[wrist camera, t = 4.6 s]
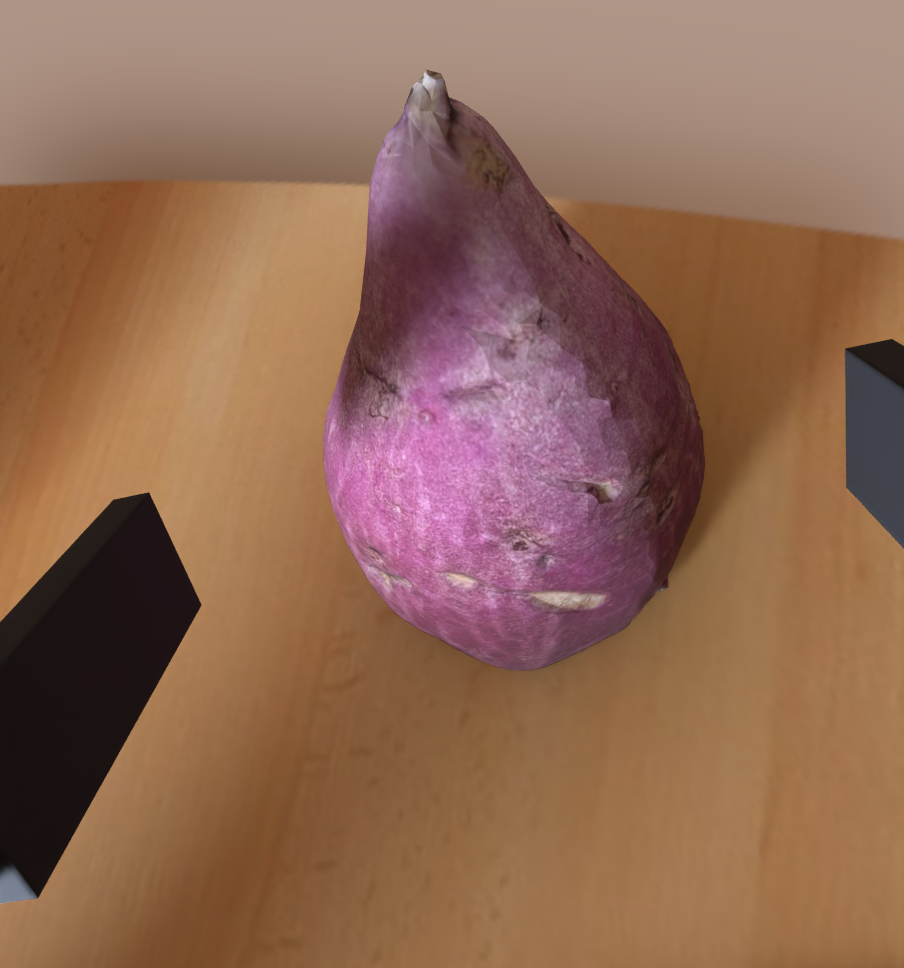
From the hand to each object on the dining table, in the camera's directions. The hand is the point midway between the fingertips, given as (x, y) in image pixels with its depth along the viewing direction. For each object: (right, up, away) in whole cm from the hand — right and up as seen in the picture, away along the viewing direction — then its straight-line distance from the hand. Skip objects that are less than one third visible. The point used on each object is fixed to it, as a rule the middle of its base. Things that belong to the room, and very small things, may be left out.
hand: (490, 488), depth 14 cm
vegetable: (+1, 0, +9) cm, 9 cm away
